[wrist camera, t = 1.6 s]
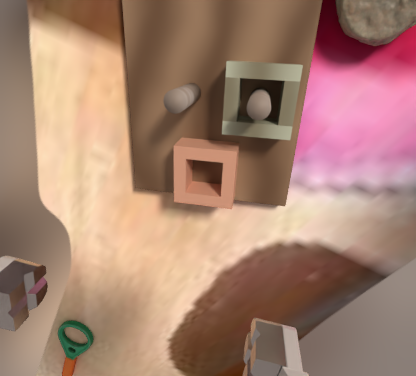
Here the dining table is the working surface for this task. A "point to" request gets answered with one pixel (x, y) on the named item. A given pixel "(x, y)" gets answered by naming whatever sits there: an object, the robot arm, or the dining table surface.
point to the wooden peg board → (219, 87)
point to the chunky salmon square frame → (202, 191)
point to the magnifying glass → (73, 345)
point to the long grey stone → (376, 19)
